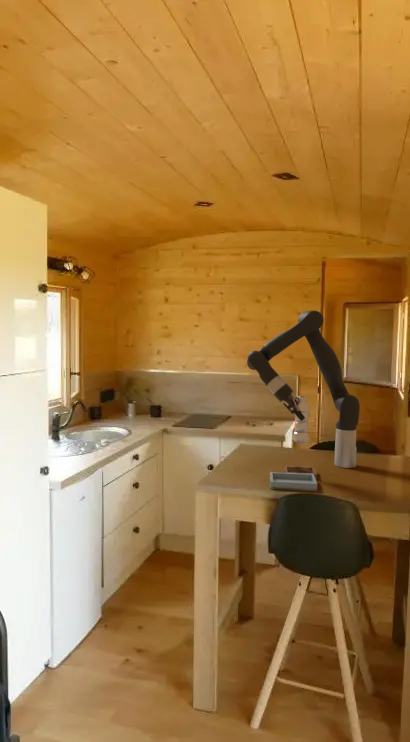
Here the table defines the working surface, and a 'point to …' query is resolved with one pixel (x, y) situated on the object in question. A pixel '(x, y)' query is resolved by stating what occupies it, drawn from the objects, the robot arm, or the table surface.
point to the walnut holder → (300, 470)
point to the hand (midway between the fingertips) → (305, 418)
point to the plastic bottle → (302, 426)
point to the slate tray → (293, 481)
